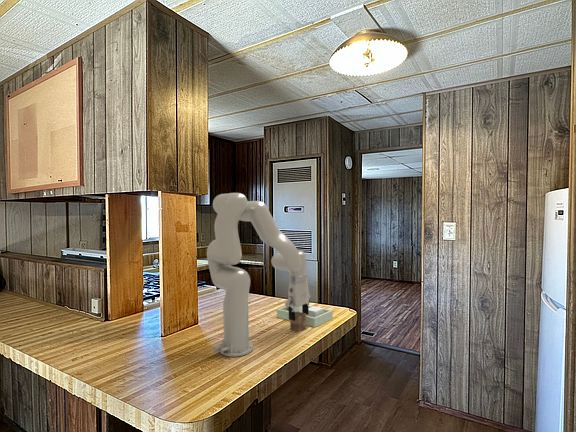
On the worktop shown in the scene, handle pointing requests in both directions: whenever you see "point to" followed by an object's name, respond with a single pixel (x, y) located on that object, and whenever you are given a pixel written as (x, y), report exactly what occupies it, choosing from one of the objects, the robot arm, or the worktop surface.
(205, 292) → the worktop surface
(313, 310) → the white block
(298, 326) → the walnut block
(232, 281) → the robot arm
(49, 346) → the worktop surface
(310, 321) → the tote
